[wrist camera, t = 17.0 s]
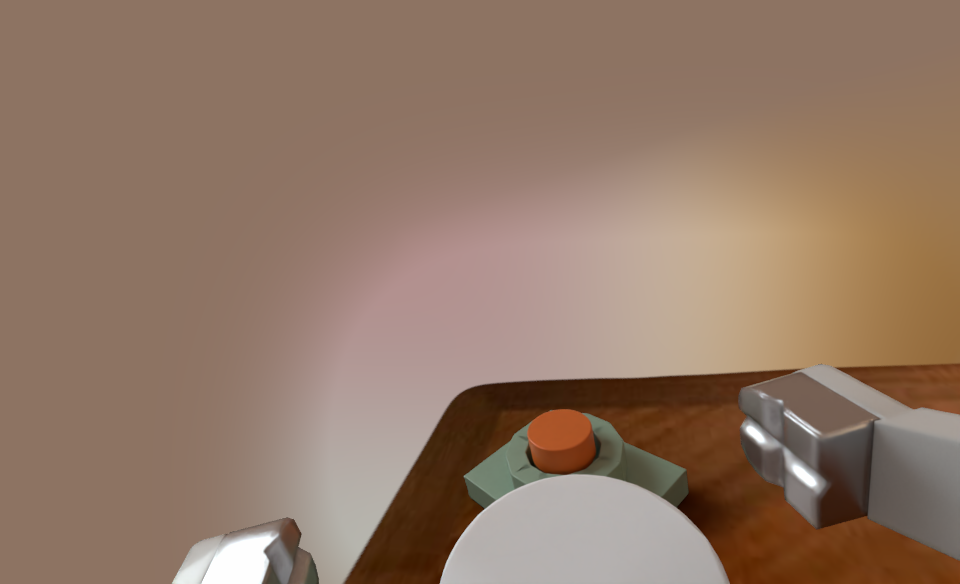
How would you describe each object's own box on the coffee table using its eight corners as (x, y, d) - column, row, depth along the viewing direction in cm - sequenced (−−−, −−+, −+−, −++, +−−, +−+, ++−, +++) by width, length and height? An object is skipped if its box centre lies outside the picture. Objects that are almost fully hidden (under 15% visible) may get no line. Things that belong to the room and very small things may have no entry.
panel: (469, 497, 29) (456, 452, 28) (555, 429, 34) (546, 387, 33) (599, 598, 22) (588, 542, 21) (689, 493, 26) (684, 442, 25)
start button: (519, 458, 27) (513, 434, 27) (561, 425, 29) (556, 401, 29) (567, 486, 24) (561, 459, 24) (609, 448, 26) (605, 422, 26)
